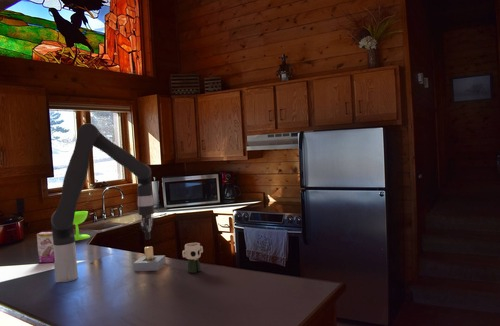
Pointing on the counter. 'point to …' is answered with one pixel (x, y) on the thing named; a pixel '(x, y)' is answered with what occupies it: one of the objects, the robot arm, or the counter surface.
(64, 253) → the robot arm
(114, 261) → the counter surface
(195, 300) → the counter surface
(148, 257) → the brass cylinder
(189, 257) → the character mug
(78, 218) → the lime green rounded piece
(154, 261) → the block
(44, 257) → the candy bar box
